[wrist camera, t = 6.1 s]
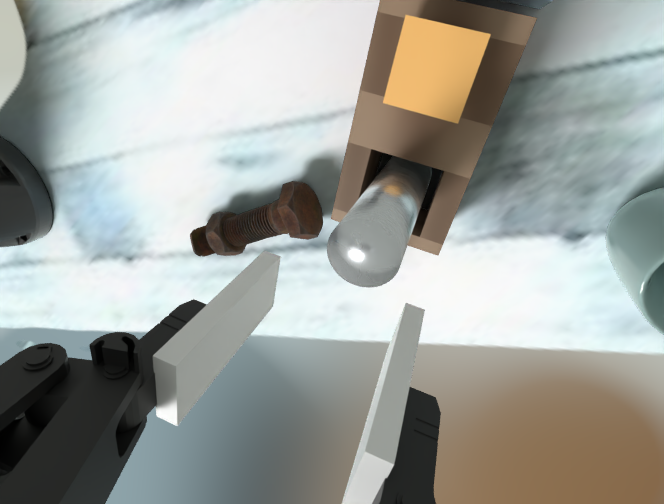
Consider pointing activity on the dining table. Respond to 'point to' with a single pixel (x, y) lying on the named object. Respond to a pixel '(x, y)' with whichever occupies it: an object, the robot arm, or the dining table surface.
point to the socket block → (422, 130)
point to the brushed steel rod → (379, 225)
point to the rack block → (529, 3)
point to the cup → (640, 253)
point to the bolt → (261, 223)
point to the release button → (434, 68)
